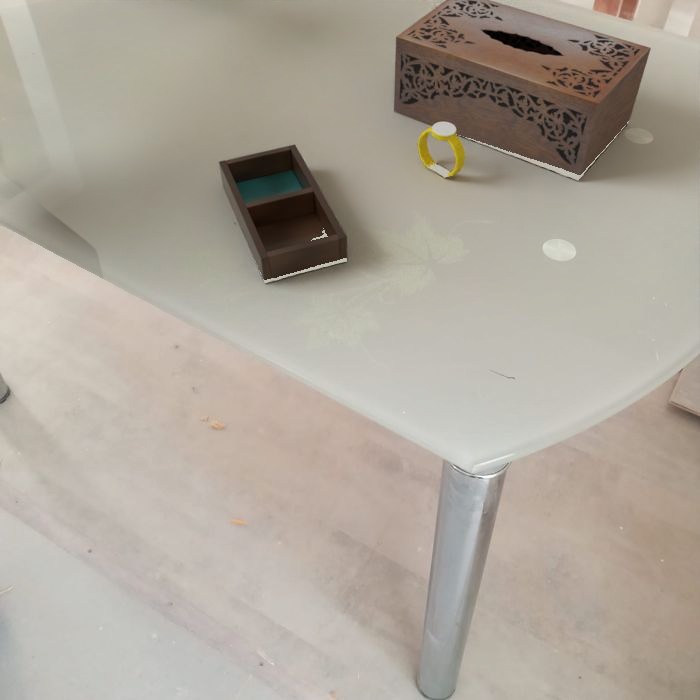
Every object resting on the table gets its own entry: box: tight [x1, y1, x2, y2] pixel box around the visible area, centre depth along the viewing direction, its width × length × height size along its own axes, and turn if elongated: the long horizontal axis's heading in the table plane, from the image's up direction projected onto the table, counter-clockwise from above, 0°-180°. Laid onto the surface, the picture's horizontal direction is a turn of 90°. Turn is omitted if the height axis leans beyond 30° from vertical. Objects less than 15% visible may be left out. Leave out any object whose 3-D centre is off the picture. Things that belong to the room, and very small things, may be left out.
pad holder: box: [218, 143, 348, 280], centre depth 84 cm, size 9×17×4 cm, turn 20°
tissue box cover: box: [393, 0, 651, 175], centre depth 94 cm, size 26×14×10 cm, turn 54°
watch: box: [417, 122, 466, 177], centre depth 89 cm, size 6×3×6 cm, turn 46°
